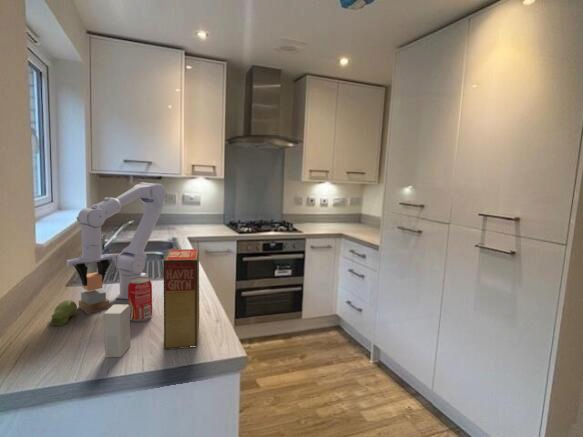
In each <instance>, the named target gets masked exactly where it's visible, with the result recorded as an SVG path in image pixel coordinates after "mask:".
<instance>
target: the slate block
mask: <svg viewBox="0 0 583 437" xmlns="http://www.w3.org/2000/svg"><path fill="white" fill-rule="evenodd" d="M106 293H107V292H106V291H104V290H102V289H101V288H100V289H95V290H91V291H87V290H84V291H81V292H80V300H81V301H83V302H84V303H86V304H88V305H91V304H95V303H99V302H103V301H106V299H107V294H106Z"/></svg>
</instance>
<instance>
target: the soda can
mask: <svg viewBox="0 0 583 437" xmlns="http://www.w3.org/2000/svg"><path fill="white" fill-rule="evenodd" d="M127 305H129V315H130V321H131V322H134V323H135V322H136V323H139V322H140V323H141V322H145V321H147V320H149V319H150V318H151V317H152V315H153V283H152V281H151V278H150V277H149V276H148V277H135V278H132V279H130V280H129V284H128V299H127Z"/></svg>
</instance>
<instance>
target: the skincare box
mask: <svg viewBox="0 0 583 437" xmlns="http://www.w3.org/2000/svg"><path fill="white" fill-rule="evenodd" d="M103 321H104V322H103V326H104V328H103V329H104V352H105V353H104V355H105V356H108V357H107V358H122V357H123V356H124V354H125V353H126V352H127V351H128V349H129V348H130V347H131V327H130V326H131V324H130V322H131V320H130V315H129V305H128V304H112V306H111V307H109V308H107V310H106V311H105V312H104V313H103Z"/></svg>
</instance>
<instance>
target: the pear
mask: <svg viewBox="0 0 583 437" xmlns="http://www.w3.org/2000/svg"><path fill="white" fill-rule="evenodd" d="M77 310H78V305H77V303H76V302H75V301H73V300H70V299H69V300H67V299H66V300H63V301H61V302H60V303H58V304H57V305H56V307H54V311H53V314H52V315H51V320H50V322H51V326H65V325H66V324H67V323H68V322H69V318H70V317H73V316H74V315H75V314H76V312H77Z"/></svg>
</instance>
